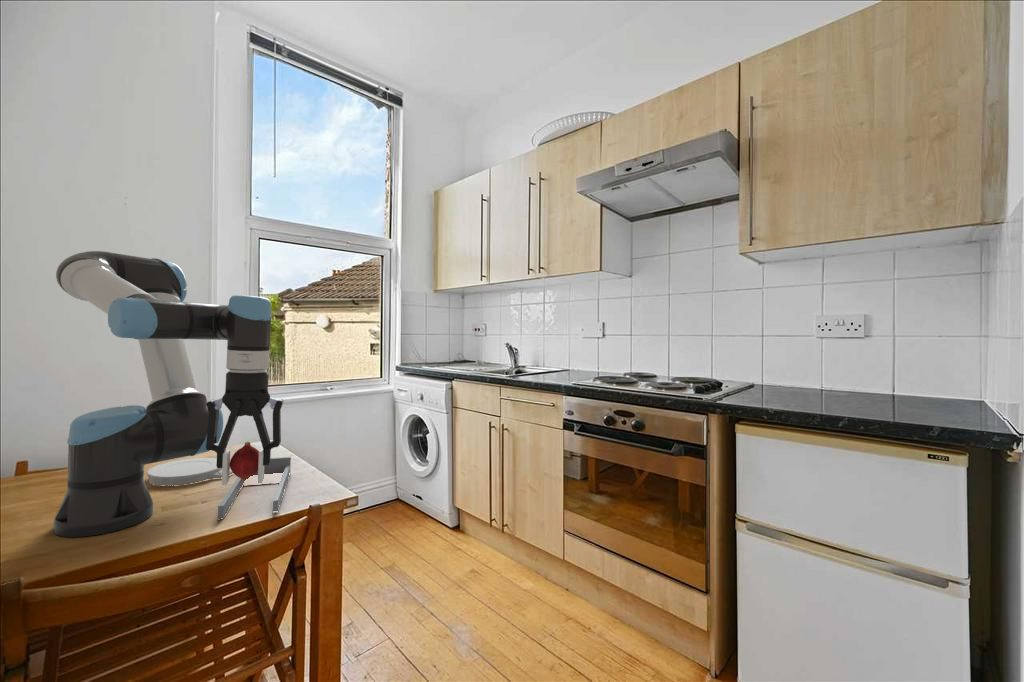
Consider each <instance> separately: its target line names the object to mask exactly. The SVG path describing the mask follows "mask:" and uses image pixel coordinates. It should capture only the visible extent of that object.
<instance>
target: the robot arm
mask: <svg viewBox="0 0 1024 682" xmlns="http://www.w3.org/2000/svg"><path fill="white" fill-rule="evenodd" d="M55 279H56V282H57V283H58V285H59V287H60V288H61V289H62V290H63V291H64V292H65V293H66V294H68V295H69V296H71V298H74V299H77V300H80V301H85V302H89V303H90V304H92V305H93V306H95V307H96V308H98V309H99V310H100V311H102V312H103V313H105V314H106V315H107V325H108V327H109V328H110V333H112V335H113V336H115V337H117V338H121V339H134V340H138V342H139V343H138V344H139V347H140V352H141V355H142V361H143V366H144V368H145V373H146V377H147V382H148V386H149V387H148V388H149V390H150V395H151V396H150V397H151V401H150V402H149V403H148V404H147V405H146V407H145V406H144V405H143V406H142V405H125V406H114V407H109V408H104V409H97V410H94V411H90V412H87V413H84V414H82V415H78V416H77V417H76V418H74V419H73V420H72V422H70V424H69V425H70V426H69V433H68V438H67V442H66V443H67V445H68V450H67V451H68V456H67V458H68V459H67V460H68V461H67V486H66V487H67V488H66V489H67V490H66V493H65V495H64V496H63V499H62V501H61V504H60V506H59V507H58V510H57V512H56V515H55V517H54V519H53V529H52V531H53V533H54V535H56V536H59V537H65V538H80V537H89V536H97V535H103V534H104V535H105V534H108V533H113V532H117V531H120V530H123V529H127V528H130V527H133V526H135V525H137V524H140V523H142V522H144V521H146V520H148V518H151V516H152V515H153V513H154V500H153V499H152V496H151V493H150V492H149V489H148V486H147V484H146V482H145V478H144V474H145V473H144V471H145V466H146V465H148V464H149V465H151V464H154V463H159V462H163V461H164V462H165V461H170V460H174V459H179V458H185V457H193V456H194V457H195V456H196V455H199V454H203V453H208V452H209V451H213V452H215V453H216V459H217V465H216V466H217V468H222V479H221V486H227V484H228V483H229V482H230V477H229V472H230V460H231V449H227V446H228V444H229V441H230V439H231V436H232V434H233V431H234V428H235V426H236V424H237V420H238V418H239V417H243V416H247V417H252V418H253V421H254V423H255V426H256V430H257V433H258V437H259V440H260V443H261V446H262V447H260V450H258V451H259V463H258V483H262V481H263V479H264V465H269V463H270V458H272V456H271V454H272V453H271V451H272V449H274V448H278V447H280V445H281V442H282V434H281V433H282V431H281V430H282V429H281V426H282V424H281V423H282V421H281V420H282V418H281V417H282V416H281V414H282V413H281V410H282V407H283V405H284V399H282V398H279V399H278V398H275V397H274V398H273V397H271V395H270V393H269V374H270V373H269V372H268V371H266V370H268V369H269V368H270V354H271V353H270V352H271V351H270V345H271V344H270V343H271V330H272V329H271V327H272V318H273V316H272V304H271V300H270V299H269V298H267V297H263V296H262V297H261V296H255V295H254V296H253V295H239V294H235V295H232V296H231V297H230V298H229V300H228V305H225V304H213V303H212V304H211V303H198V302H185V299H186V296H187V293H188V290H187V287H188V283H187V279H186V276H185V273H184V272H183V269H182V268H181V267H180V266H179V265H177V264H176V263H174V262H172V261H168V260H162V259H161V258H160V259H159V258H149V257H141V256H137V255H136V256H135V255H128V254H122V253H116V252H115V253H114V252H110V251H101V250H92V251H89V250H88V251H83V252H78V253H75V254H73V255H71V256H68V257H67V258H65V259H63V260H62V261H61V262H60V263H59V265H58V267H57V269H56V272H55ZM185 340H208V341H209V340H217V341H219V340H222V341H227V343H226V347H227V348H226V366H225V367H226V369H227V370H229V371H227V373H225V391H224V394H223V395H222V398H221V397H220V398H217V399H211V400H209V401H208V399H207V396H206V394H205V393H203V392H200V391H198V390H197V387H196V383H195V379H194V376H193V372H192V368H191V365H190V361H189V356H188V352H187V349H186V345H185ZM223 404H224V405H225V407H226V408H227V409H228V410H229V411H230V414H229V416H228V418H227V421H226V424H225V427H224V415H223V412H222V407H223ZM267 404H269V405H270V409H272V441H271V439H270V436H269V433H268V428H267V426H266V422H265V419H264V414H263V409H264V408H265V407H266V406H267Z"/></svg>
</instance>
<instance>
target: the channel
mask: <svg viewBox="0 0 1024 682" xmlns="http://www.w3.org/2000/svg"><path fill="white" fill-rule="evenodd" d="M291 464H292V456H283V457H281V456H279V457H270V463H269V465H264V474H273V473H283V472H284V473H283V475H282V478H281V481H280V483H279V484H278V486H277V489H276V492H275V494H274V497H273V500H272V512H273V511H278V508H279V505H280V506H281V504H280V502H281V503H282V501H281V499H282V500H283V498H282V496H283V497H284V495H283V493H284V494H285V492H284V489H285V486H286V483H287V480H288V477H289V478H290V476H289V473H290V474H291V467H292V465H291ZM253 475H258V471H257V472H256V473H255V474H253ZM253 475H252V476H253ZM245 480H246V479H245ZM245 480H243V479H241V478H239V477H238V476H237V478H236V479H235V481H234V482H233V484H232V485H231V486H230V488H229V489H228V491H227V492H226V494H225V496H224V497H223V498H222V500H221V501H220V503H219V504H218V506H217V520H218V519H221V518H224V519H225V517H226V516H225V514H226V513H227V514H228V512H229V511H228V509H229V507H230V506H231V504H232V502H233V500H234V499H235V497H236V495H237V493H238V492H239V490H240V488H241V487H242V485H243V483H244V481H245ZM288 481H289V480H288ZM287 484H288V483H287ZM286 487H287V486H286ZM242 488H243V487H242ZM285 490H286V489H285ZM239 493H240V492H239ZM236 498H237V497H236ZM235 500H236V499H235ZM233 503H234V502H233ZM232 505H233V504H232ZM231 507H232V506H231ZM231 507H230V508H231ZM279 509H280V508H279ZM229 510H230V509H229ZM227 511H228V512H227ZM278 512H279V511H278ZM227 514H226V515H227ZM224 516H225V517H224Z"/></svg>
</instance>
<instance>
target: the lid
mask: <svg viewBox="0 0 1024 682" xmlns="http://www.w3.org/2000/svg"><path fill="white" fill-rule="evenodd" d="M216 465H217V458H214V457H197V458H196V457H195V458H185V459H178V460H173V461H166V462H163V463H161V464H157V465H155V466H153V467H150V468H149V469H148V470H147V471H146V475H147V478H148V483H151V484H154V485H165V486H168V485H169V486H170V485H171V486H172V485H173V486H174V485H184V484H190V483H195V482H199V481H203V480H206V479H213V478H221V477H222V468H217V466H216ZM232 473H233V472H232V470H231V469H230V472H229V475H230V474H232ZM151 484H150V485H151ZM154 485H153V486H154Z"/></svg>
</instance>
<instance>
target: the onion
mask: <svg viewBox="0 0 1024 682" xmlns="http://www.w3.org/2000/svg"><path fill="white" fill-rule="evenodd" d="M259 451H260V450H258V449H257V448H256V447H255V446H252V445H251V442H250V441H245V442H244V445H243V446H242V447H241V448H239V449H237V450H236V451H235V452H234V454H232V456H231V457H230V469H231V470H232V472H233V473H234V475H235V476H236V477H237V478H238V477H239V478H241V479H243V480H245V479H248V478H249V477H250V476H252V475H253V474H255V473H256V472H257V471H258V463H259Z"/></svg>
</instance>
